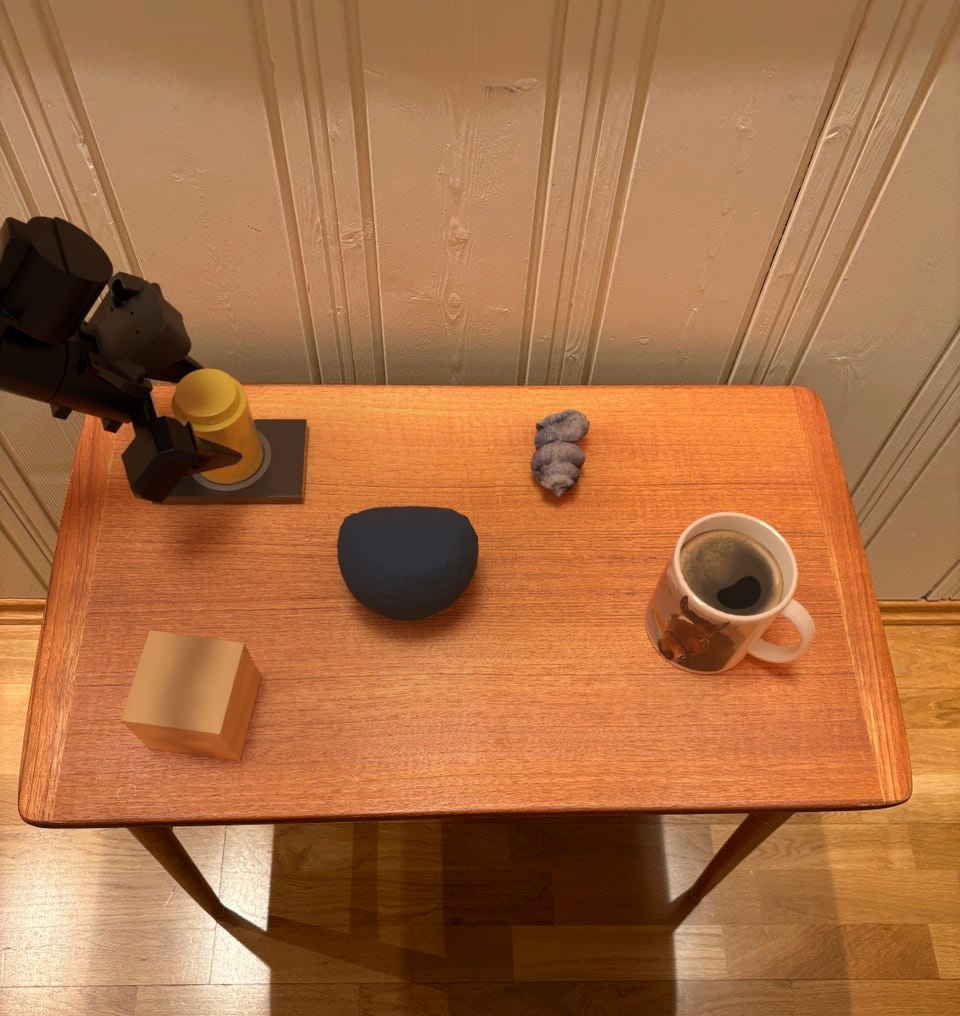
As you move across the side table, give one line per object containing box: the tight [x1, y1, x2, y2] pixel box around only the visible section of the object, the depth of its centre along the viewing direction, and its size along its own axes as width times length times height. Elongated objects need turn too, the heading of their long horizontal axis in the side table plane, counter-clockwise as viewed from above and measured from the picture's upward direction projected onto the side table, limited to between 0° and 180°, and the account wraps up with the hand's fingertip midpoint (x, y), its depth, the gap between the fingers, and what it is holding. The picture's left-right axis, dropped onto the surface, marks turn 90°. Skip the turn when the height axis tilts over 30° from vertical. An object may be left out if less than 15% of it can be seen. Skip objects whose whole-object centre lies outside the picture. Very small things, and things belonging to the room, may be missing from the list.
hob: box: [150, 418, 309, 505], centre depth 83 cm, size 14×9×1 cm, turn 92°
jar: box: [171, 368, 263, 484], centre depth 78 cm, size 6×6×9 cm
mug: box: [644, 511, 816, 675], centre depth 73 cm, size 10×12×11 cm
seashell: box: [530, 408, 591, 498], centre depth 83 cm, size 5×5×10 cm
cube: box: [120, 629, 262, 762], centre depth 70 cm, size 8×8×7 cm
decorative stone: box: [336, 505, 480, 623], centre depth 74 cm, size 12×12×10 cm
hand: (226, 419), depth 78 cm, fingers open, 9 cm apart
